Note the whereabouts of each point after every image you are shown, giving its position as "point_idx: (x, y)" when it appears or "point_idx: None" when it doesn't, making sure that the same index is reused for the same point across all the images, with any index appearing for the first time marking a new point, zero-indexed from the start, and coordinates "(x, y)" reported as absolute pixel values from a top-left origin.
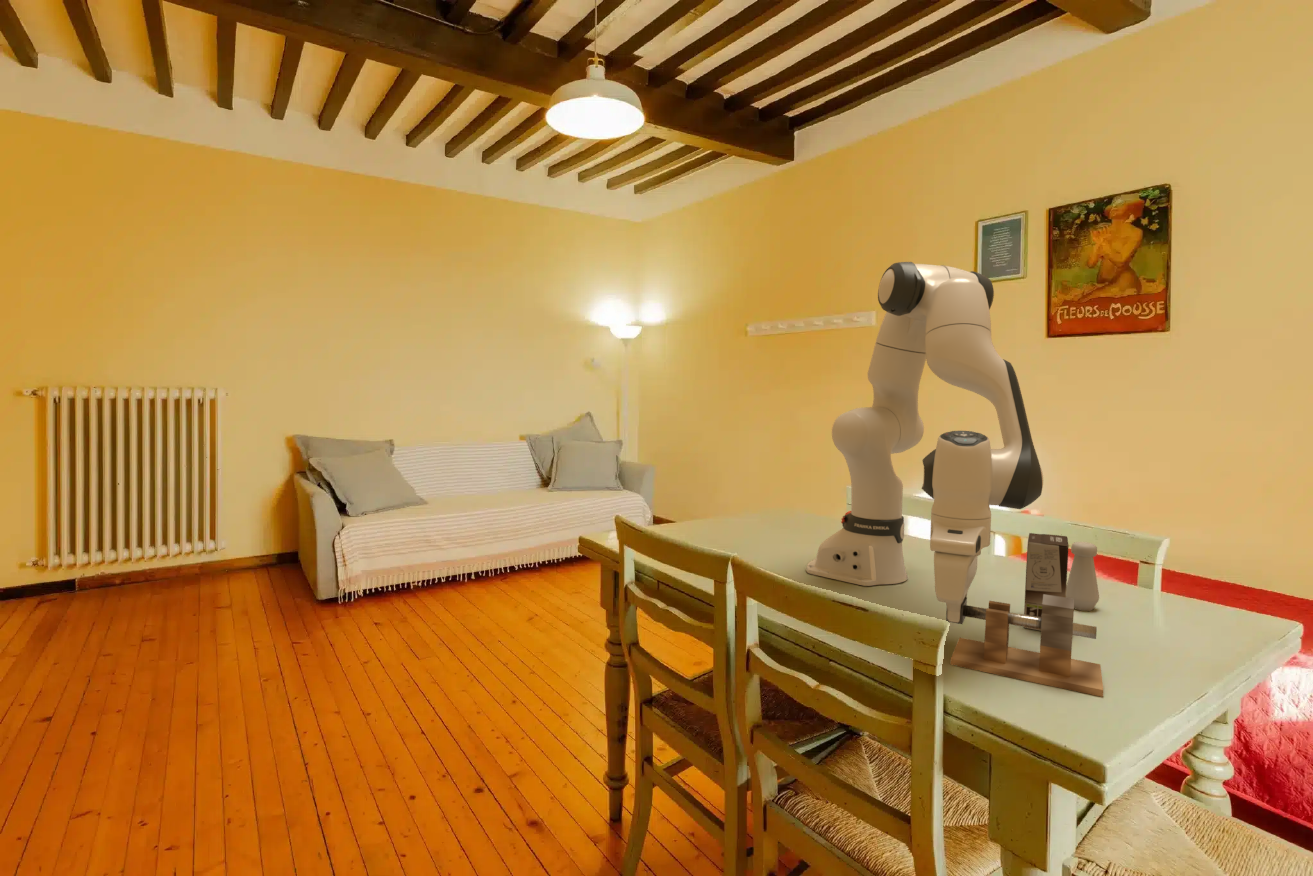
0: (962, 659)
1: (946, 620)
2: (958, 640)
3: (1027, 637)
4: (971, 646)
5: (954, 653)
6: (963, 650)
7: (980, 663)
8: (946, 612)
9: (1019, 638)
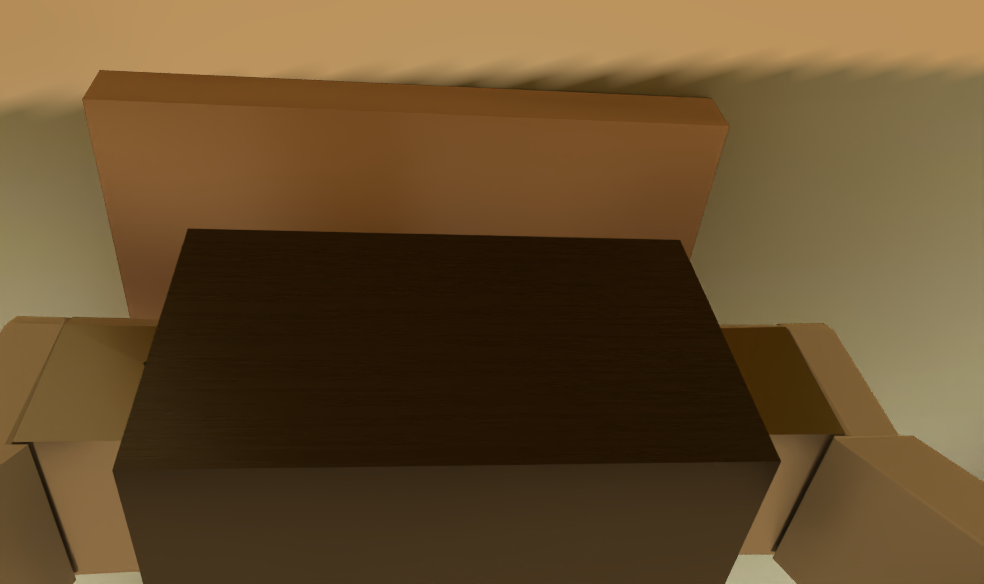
0: (139, 195)
1: (189, 243)
2: (637, 125)
3: (954, 462)
4: (529, 232)
5: (250, 119)
6: (387, 183)
7: (159, 316)
8: (159, 330)
9: (928, 432)
